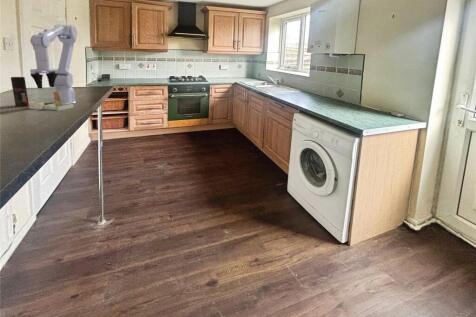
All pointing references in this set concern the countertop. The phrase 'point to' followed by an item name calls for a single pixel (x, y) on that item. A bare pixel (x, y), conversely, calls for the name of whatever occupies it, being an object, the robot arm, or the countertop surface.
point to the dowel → (57, 99)
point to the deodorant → (19, 91)
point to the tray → (53, 107)
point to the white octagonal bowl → (36, 105)
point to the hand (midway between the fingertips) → (46, 87)
